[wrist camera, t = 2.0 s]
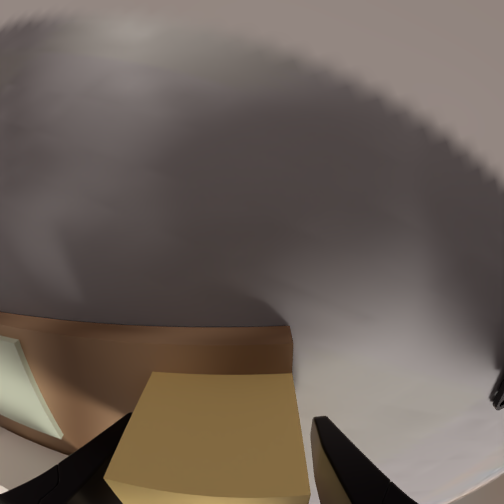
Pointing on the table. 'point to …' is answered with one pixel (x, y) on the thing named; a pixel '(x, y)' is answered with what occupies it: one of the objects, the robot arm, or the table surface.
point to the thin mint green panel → (22, 391)
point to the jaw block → (212, 442)
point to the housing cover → (23, 460)
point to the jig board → (127, 366)
